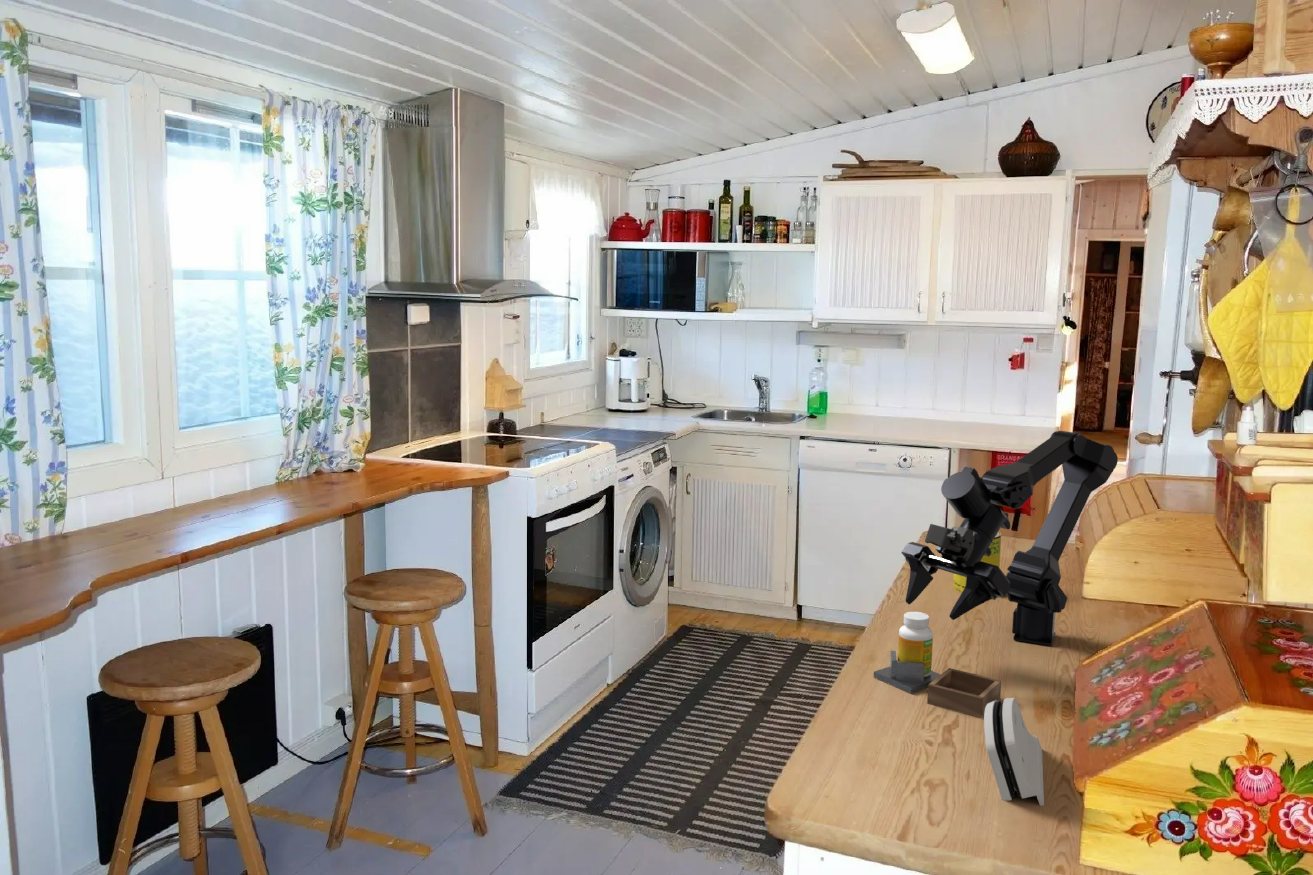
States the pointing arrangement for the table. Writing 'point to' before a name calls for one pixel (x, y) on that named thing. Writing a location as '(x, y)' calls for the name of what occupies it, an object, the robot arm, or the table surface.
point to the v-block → (905, 675)
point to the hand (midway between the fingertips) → (928, 610)
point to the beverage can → (993, 559)
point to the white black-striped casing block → (1013, 751)
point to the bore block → (960, 700)
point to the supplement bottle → (916, 640)
